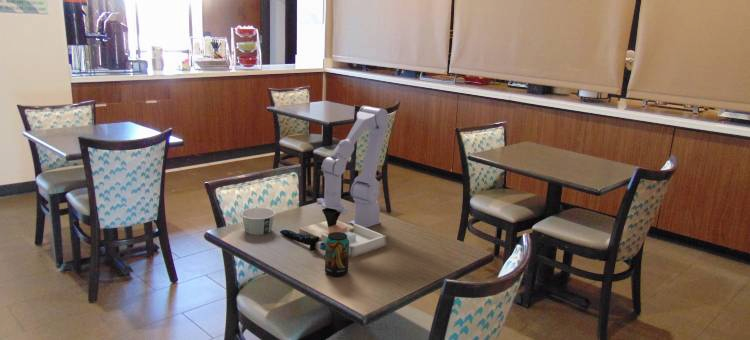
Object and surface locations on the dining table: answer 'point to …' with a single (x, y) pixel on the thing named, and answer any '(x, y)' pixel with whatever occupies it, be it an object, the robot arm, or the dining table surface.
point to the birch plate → (320, 229)
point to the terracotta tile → (337, 228)
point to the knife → (304, 239)
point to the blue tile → (350, 235)
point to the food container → (258, 220)
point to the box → (363, 241)
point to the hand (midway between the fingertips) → (331, 228)
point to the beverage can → (336, 254)
